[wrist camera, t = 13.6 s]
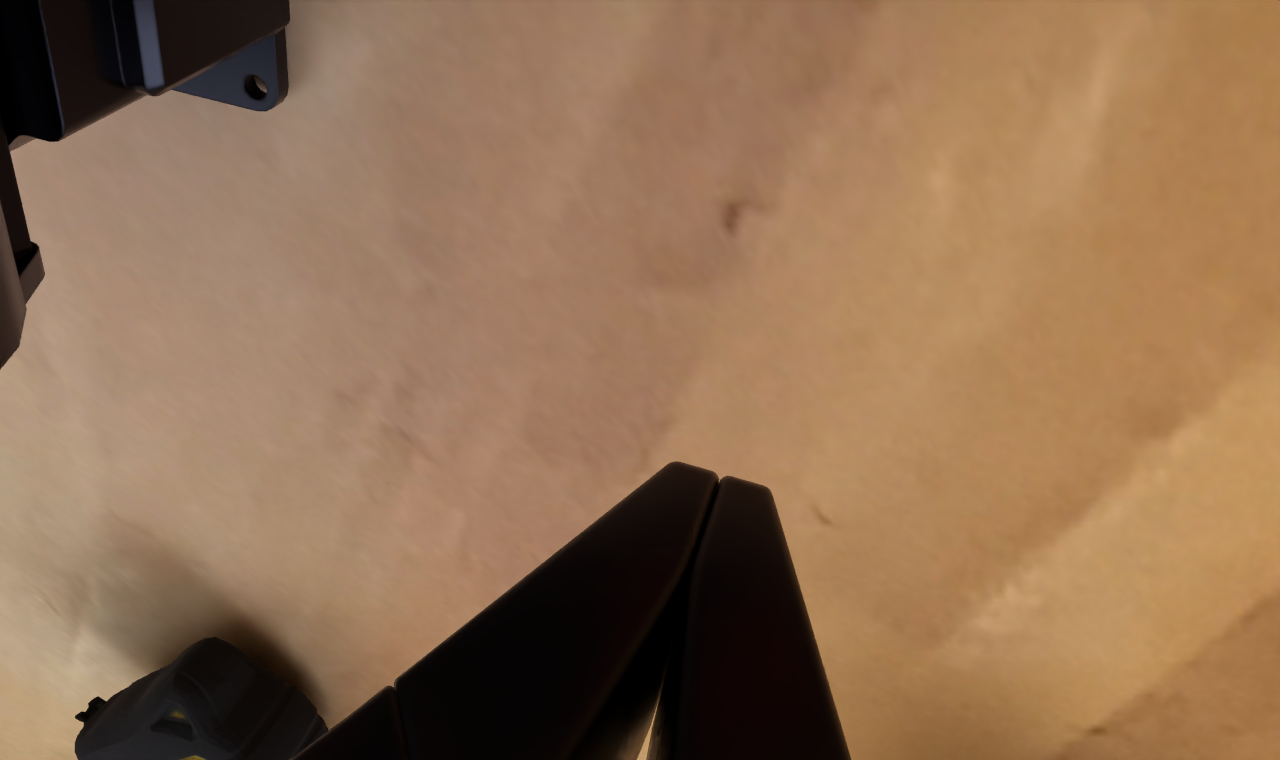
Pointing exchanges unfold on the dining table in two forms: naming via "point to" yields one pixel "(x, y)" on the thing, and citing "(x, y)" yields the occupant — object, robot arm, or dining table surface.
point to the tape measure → (202, 712)
